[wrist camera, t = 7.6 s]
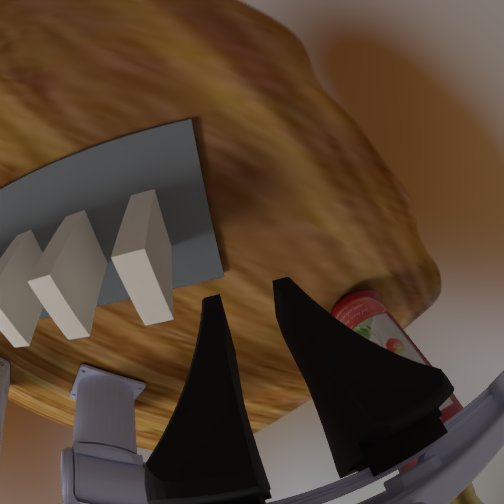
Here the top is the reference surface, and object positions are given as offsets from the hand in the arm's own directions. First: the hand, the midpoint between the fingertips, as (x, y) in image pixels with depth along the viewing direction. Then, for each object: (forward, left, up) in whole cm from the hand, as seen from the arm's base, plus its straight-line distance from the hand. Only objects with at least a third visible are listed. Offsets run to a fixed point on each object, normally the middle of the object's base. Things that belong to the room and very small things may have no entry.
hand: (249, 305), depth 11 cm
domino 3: (-3, +3, -9) cm, 10 cm away
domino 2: (-7, +7, -9) cm, 13 cm away
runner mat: (-10, +10, -10) cm, 18 cm away
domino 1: (-10, +10, -9) cm, 17 cm away
